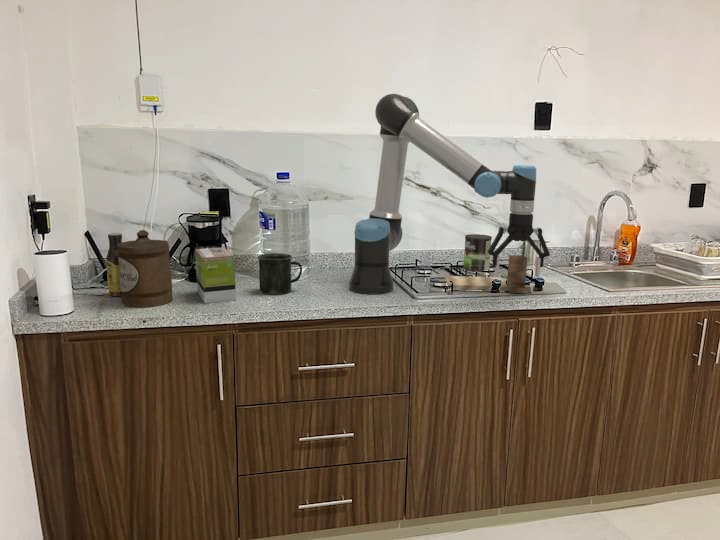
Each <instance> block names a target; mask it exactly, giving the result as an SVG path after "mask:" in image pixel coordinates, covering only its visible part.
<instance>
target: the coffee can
mask: <svg viewBox="0 0 720 540" xmlns="http://www.w3.org/2000/svg"><path fill="white" fill-rule="evenodd" d="M464 238H465V239H464V240H465V242H464V257H463V269H466V270H467V271H470V272H476V271H483V270H489V271H490V265H491V264H490V263H491V255H489V254H488V250H489V248H490V246H491V245H492V239H493V237H492V236H490V235H487V234H478V233H477V234H475V233H471V234H466V235H464Z"/></svg>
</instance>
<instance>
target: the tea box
mask: <svg viewBox="0 0 720 540" xmlns="http://www.w3.org/2000/svg"><path fill="white" fill-rule="evenodd" d="M194 252H195V253H194V254H195V255H194V257H195V270H196V272H195V273H196V285H197V292H198V294H199V297H201V299H202V301H203V303H204V304H213V303H222V302H223V303H225V302H230V301H231V302H232V301H236V299H237V291H236V267H235V255H234V254H233V253H232V252H230V251H229V250H228V249H227V248H226V247H224V246H221V247H208V248H195V249H194Z"/></svg>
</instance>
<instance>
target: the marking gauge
mask: <svg viewBox="0 0 720 540" xmlns="http://www.w3.org/2000/svg"><path fill="white" fill-rule="evenodd" d="M507 267H508V269H507V278H508V279H507V284H508V285H509V293H510V294H526V293H525V282H527V279H526V278H527V270H528V268H527V267H528V257H526V256H525V255H522V254H519V255H518V254H515V255H514V254H513V255H512V254H509V255H508V265H507ZM509 293H508V294H509Z"/></svg>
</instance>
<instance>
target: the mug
mask: <svg viewBox="0 0 720 540" xmlns="http://www.w3.org/2000/svg"><path fill="white" fill-rule="evenodd" d="M292 257H293V256H292V255H291V254H289V253H281V252H280V253H279V252H276V253H264V254H259V255H257V260H258V274H259V275H258V277H259V279H258V280H259V282H258V283H259V291H260V293H261V294H265V295H271V296H272V295H286V294H288V293H290V292H291V290H292V284H293V283H296V282H298V281H299V280H300V279H301V276H302V273H303V266H302V264H301V263H300V262H297V261H291V260H292ZM292 265H295V266H298V267H299V272H298V275H297V277H295V278H294V279H292Z"/></svg>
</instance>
